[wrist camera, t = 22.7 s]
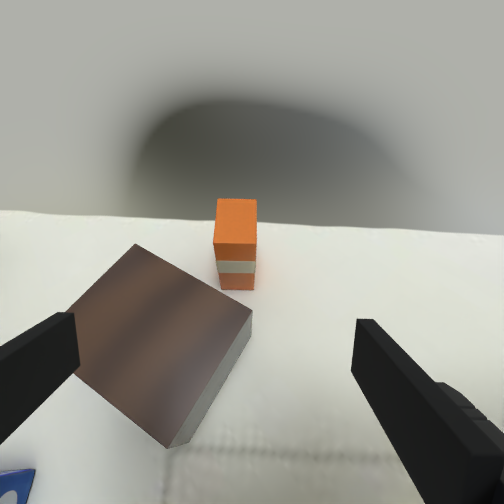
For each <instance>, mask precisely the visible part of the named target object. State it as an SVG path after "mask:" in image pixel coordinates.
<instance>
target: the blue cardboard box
mask: <svg viewBox="0 0 504 504" xmlns="http://www.w3.org/2000/svg"><path fill="white" fill-rule="evenodd" d="M34 472H35V470H33V469H25V470H13V471H3V472H0V504H26V500H27V497H28V494H29V490H30V487H31V484H32V480H33V477H34Z"/></svg>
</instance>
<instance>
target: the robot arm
mask: <svg viewBox="0 0 504 504" xmlns="http://www.w3.org/2000/svg"><path fill="white" fill-rule="evenodd" d="M80 366H81V364H80V356H79V348H78V340H77V332H76V324H75V316H74V313H71V312H57V313H55V314H54V315H52V316H50V317H49V318H47V319H45V320H44V321H42V322H40V323H39V324H37V325H35V326H34V327H32V328H30V329H29V330H27V331H25V332H24V333H22V334H20V335H19V336H17V337H15V338H14V339H12V340H10V341H8V342H7V343H5V344H3V345H2V346H0V445H1V444H2V443H3V442H4V441H5V440H6V439H7V438H8V437H9V436H10V435H11V434H12V433H13V432H14V431H15V430H16V429H17V428H18V427H19V426H20V425H21V424H22V423H23V422H24V421H25V420H26V419H27V418H28V417H29V416H30V415H31V414H32V413H33V412H34V411H35V410H36V409H37V408H38V407H39V406H40V405H41V404H42V403H43V402H44V401H45V400H46V399H47V398H48V397H49V396H50V395H51V394H52V393H53V392H54V391H55V390H56V389H57V388H58V387H59V386H60V385H61V384H62V383H63V382H64V381H65V380H66V379H67V378H68V377H69V376H71V375H72V374H73V373H74V372H75V371H76V370H77V369H78V368H79V367H80ZM351 372H352V374H353V376H354V378H355V379H356V381H357V383H358V385H359V387H360V388H361V390H362V392H363V394H364V396H365V397H366V399H367V401H368V403H369V404H370V406H371V408H372V410H373V412H374V413H375V415H376V417H377V419H378V420H379V422H380V424H381V426H382V428H383V429H384V431H385V433H386V435H387V437H388V438H389V440H390V442H391V444H392V445H393V447H394V449H395V451H396V453H397V454H398V456H399V458H400V460H401V461H402V463H403V465H404V467H405V469H406V470H407V472H408V474H409V476H410V478H411V479H412V481H413V483H414V485H415V486H416V488H417V490H418V492H419V494H420V495H421V497H422V499H423V501H424V502H425V504H504V433H503V432H501V431H500V430H499V429H498V428H497V427H496V426H495V425H494V424H493V423H492V422H491V421H490V420H487V417H486V416H485V415H484V414H482V413H481V412H480V411H479V410H478V409H476V408H475V406H474V405H473V404H472V403H471V402H470V401H469V400H468V399H467V398H466V397H464V396H463V395H462V394H461V393H460V392H458V391H457V390H455V389H453V388H452V387H450V386H449V385H447V384H445V383H443V382H434V381H433V380H432V379H431V378H430V377H429V376H428V375H427V374H426V372H425V371H424V370H423V369H422V368H421V367H420V366H419V365H418V364H417V363H416V362H415V361H414V360H413V359H412V358H411V357H410V356H409V355H408V354H407V353H406V352H405V351H404V350H403V349H402V348H401V347H400V346H399V345H398V344H397V343H396V342H395V341H394V340H393V339H392V338H391V337H390V336H389V335H388V334H387V333H386V332H385V331H384V330H383V329H382V328H381V327H380V326H379V325H378V323H377V322H376V321H375V320H374V319H357V321H356V330H355V339H354V348H353V357H352V366H351Z"/></svg>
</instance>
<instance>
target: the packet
mask: <svg viewBox="0 0 504 504" xmlns="http://www.w3.org/2000/svg"><path fill="white" fill-rule="evenodd" d="M256 209H257V200H256V199H218V201H217V211H216V220H215V229H214V238H213V245H214V251H215V257H216V265H217V270H218V274H219V279H220V285H221V289H229V290H254V277H255V268H256V245H257V210H256Z"/></svg>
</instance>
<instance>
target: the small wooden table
mask: <svg viewBox="0 0 504 504" xmlns="http://www.w3.org/2000/svg"><path fill="white" fill-rule="evenodd" d="M66 312H71V313H74V316H75V324H76V332H77V340H78V348H79V356H80V364H81V366H80V367H79V368H78V369H77V370H76V371H75V372H74V374H75V375H76V376H77V377H78V378H80V379H81V380H82V381H83V382H85V383H86V384H87V385H88V386H90V387H91V388H92V389H93V390H95V391H96V392H97V393H98V394H100V395H101V396H102V397H103V398H105V399H106V400H107V401H108V402H109V403H111V404H112V405H113V406H114V407H116V408H117V409H118V410H119V411H121V412H122V413H123V414H124V415H126V416H127V417H128V418H129V419H131V420H132V421H133V422H134V423H135V424H137V425H138V426H139V427H140V428H142V429H143V430H144V431H145V432H147V433H148V434H149V435H150V436H152V437H153V438H154V439H155V440H157V441H158V442H159V443H160V444H162V445H163V446H164V447H165V448H166V449H169V448H172V447H175V446H179V445H182V444H185V443H188V442H189V441H190V440H191V438H192V436H193V435H194V433H195V431H196V429H197V428H198V426H199V424H200V423H201V421H202V419H203V417H204V416H205V414H206V412H207V411H208V409H209V407H210V405H211V404H212V402H213V400H214V399H215V397H216V395H217V394H218V392H219V390H220V388H221V387H222V385H223V383H224V382H225V380H226V378H227V376H228V375H229V373H230V371H231V370H232V368H233V366H234V364H235V363H236V361H237V359H238V358H239V356H240V354H241V353H242V351H243V349H244V347H245V346H246V344H247V342H248V341H249V339H250V337H251V327H252V310H251V309H249V308H247V307H246V306H244V305H242V304H240V303H239V302H237V301H235V300H233V299H232V298H230V297H228V296H226V295H225V294H223V293H221V292H219V291H218V290H216V289H214V288H212V287H211V286H209V285H207V284H205V283H204V282H202V281H200V280H198V279H197V278H195V277H193V276H191V275H190V274H188V273H186V272H184V271H183V270H181V269H179V268H177V267H175V266H174V265H172V264H170V263H168V262H167V261H165V260H163V259H161V258H160V257H158V256H156V255H154V254H153V253H151V252H149V251H147V250H146V249H144V248H142V247H140V246H139V245H137V244H134V245H133V246H132V247H131V248H130V249H129V250H128V251H127V252H126V253H125V254H124V255H123V256H122V257H121V258H120V259H119V260H118V261H117V262H116V263H115V264H114V265H113V266H112V267H111V268H110V269H109V270H108V271H107V272H106V273H105V274H104V275H102V276H101V277H100V278H99V279H98V280H97V281H96V282H95V283H94V284H93V285H92V286H91V287H90V288H89V289H88V290H87V291H86V292H85V293H84V294H83V295H82V296H81V297H80V298H79V299H78V300H77V301H76V302H75V303H74V304H73V305H72V306H71V307H70V308H69V309H68V310H67V311H66Z"/></svg>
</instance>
